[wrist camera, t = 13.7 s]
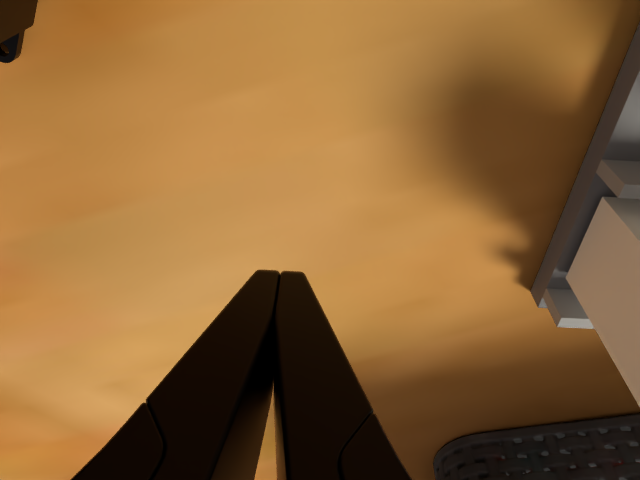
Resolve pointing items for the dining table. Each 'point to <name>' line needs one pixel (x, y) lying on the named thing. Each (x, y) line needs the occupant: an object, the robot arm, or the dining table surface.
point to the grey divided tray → (594, 191)
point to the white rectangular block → (613, 283)
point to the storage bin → (547, 452)
